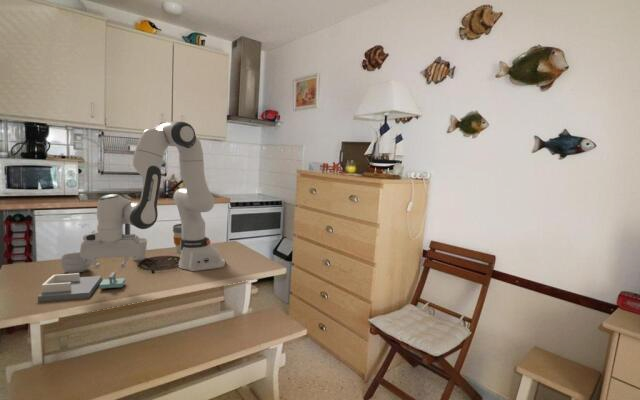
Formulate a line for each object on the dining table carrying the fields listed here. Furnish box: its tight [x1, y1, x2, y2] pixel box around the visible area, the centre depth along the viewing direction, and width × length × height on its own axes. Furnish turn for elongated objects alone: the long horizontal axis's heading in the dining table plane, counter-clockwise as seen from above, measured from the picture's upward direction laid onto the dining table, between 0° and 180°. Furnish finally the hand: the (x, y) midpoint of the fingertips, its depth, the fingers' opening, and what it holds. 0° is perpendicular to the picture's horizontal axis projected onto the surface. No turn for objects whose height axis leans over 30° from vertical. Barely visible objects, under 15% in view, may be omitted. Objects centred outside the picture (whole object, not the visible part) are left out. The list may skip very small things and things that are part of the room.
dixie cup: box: [132, 237, 148, 261], centre depth 175 cm, size 8×8×10 cm
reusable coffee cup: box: [172, 223, 182, 255], centre depth 191 cm, size 13×13×15 cm
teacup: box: [61, 251, 93, 274], centre depth 153 cm, size 14×11×8 cm
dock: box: [37, 272, 103, 303], centre depth 134 cm, size 16×18×5 cm
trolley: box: [98, 271, 126, 291], centre depth 139 cm, size 8×6×6 cm
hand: (110, 267), depth 137 cm, fingers open, 8 cm apart
